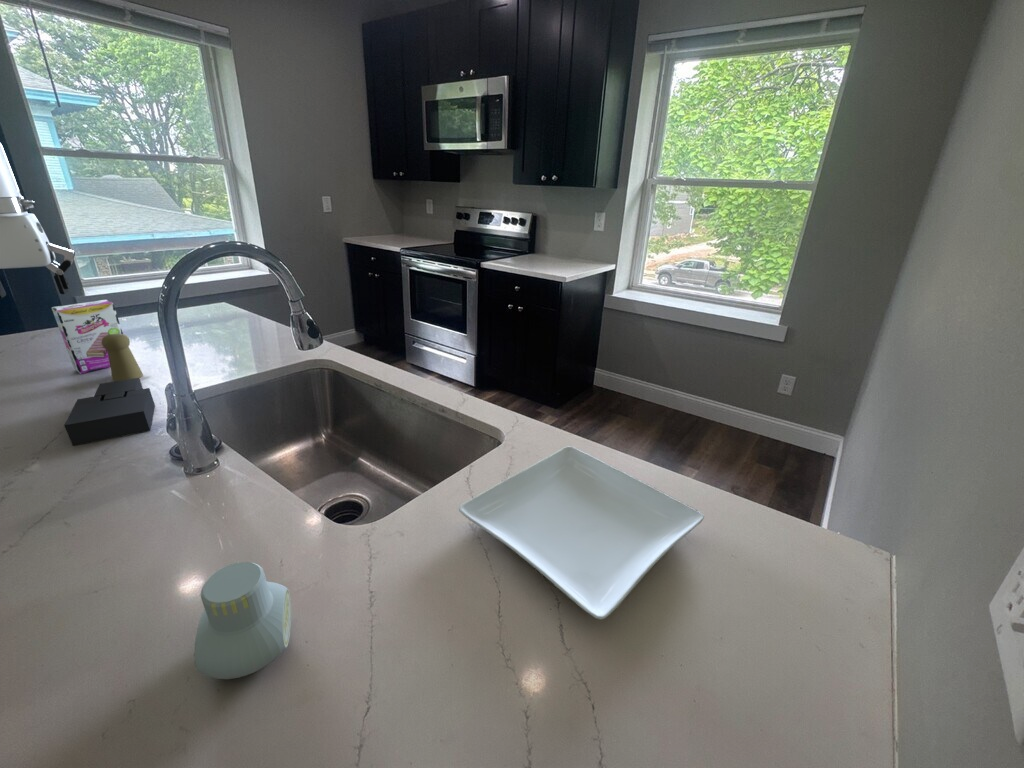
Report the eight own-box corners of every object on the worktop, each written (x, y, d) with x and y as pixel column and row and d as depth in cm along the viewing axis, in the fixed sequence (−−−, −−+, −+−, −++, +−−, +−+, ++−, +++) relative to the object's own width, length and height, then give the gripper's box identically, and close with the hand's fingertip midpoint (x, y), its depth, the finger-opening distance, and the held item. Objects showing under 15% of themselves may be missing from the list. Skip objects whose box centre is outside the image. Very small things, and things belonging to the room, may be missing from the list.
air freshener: (288, 678, 50) (270, 613, 46) (199, 704, 47) (171, 637, 43) (294, 597, 59) (280, 537, 55) (220, 614, 57) (199, 553, 52)
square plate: (703, 532, 72) (708, 512, 71) (597, 643, 55) (601, 620, 53) (568, 458, 90) (569, 440, 88) (455, 524, 72) (454, 504, 71)
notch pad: (72, 445, 88) (63, 425, 86) (85, 418, 97) (77, 399, 95) (150, 430, 94) (143, 411, 92) (155, 406, 103) (149, 387, 101)
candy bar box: (80, 375, 116) (55, 311, 109) (74, 369, 119) (49, 307, 112) (133, 362, 124) (113, 301, 118) (126, 357, 127) (106, 298, 120)
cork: (140, 370, 120) (127, 329, 115) (145, 377, 116) (131, 335, 111) (110, 376, 116) (95, 334, 111) (114, 384, 112) (98, 341, 107)
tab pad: (98, 420, 97) (91, 401, 95) (106, 401, 104) (99, 383, 102) (140, 413, 100) (134, 394, 98) (145, 395, 107) (139, 377, 106)
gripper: (62, 205, 96) (91, 287, 103) (-59, 205, 88) (-18, 295, 95) (53, 208, 90) (84, 295, 98) (-77, 209, 82) (-33, 304, 89)
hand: (33, 295), depth 96 cm, fingers open, 9 cm apart
